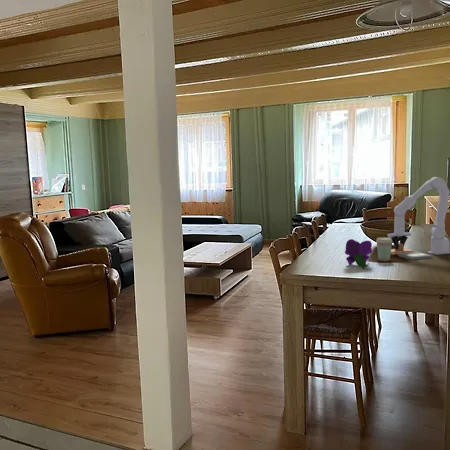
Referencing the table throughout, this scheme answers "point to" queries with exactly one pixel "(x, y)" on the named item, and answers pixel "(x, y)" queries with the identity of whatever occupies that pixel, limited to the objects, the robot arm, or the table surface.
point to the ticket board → (414, 255)
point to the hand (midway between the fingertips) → (399, 248)
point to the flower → (358, 252)
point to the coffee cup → (384, 248)
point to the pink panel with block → (400, 249)
